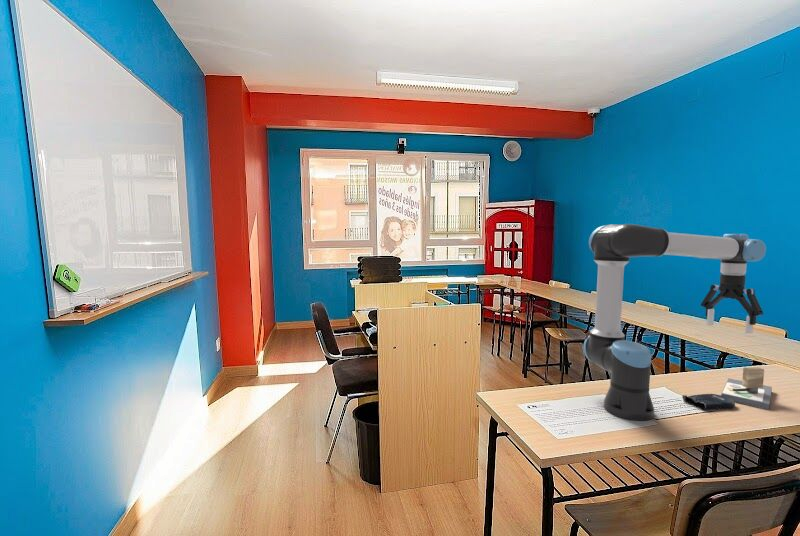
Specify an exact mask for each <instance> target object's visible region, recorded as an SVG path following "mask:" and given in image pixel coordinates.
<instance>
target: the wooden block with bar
mask: <svg viewBox="0 0 800 536" xmlns="http://www.w3.org/2000/svg"><path fill="white" fill-rule="evenodd" d="M742 368H743V369H742V370H743V371H742V380H741V381H742V386H744V387H746V388H741V389H733V391H747V392H749V393H754V394H757V393H758V388H763V385H764V377H765V376H764V375H765V369H764V368H762V367H759V366H755V367H754V366H753V367H742Z"/></svg>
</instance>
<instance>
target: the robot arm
mask: <svg viewBox="0 0 800 536" xmlns="http://www.w3.org/2000/svg"><path fill="white" fill-rule="evenodd" d="M588 246H589V249H590V251H591V252H592V253H593V261H594V263H595V264H597V276H596V277H597V280H596V281H597V282H596V296H595V297H596V299H595V313H594V327H593V328H592V329H590V330H589V335H588V336H587V337H586V338H585V340H584V342H583V345H582V349H583V354H584V356H585V358H586V359H587V360H588V361H589V362H590V363H592V364H593V365H595V366H597V367H599V368H601V369H602V370H605V371H606V372H608V373H609V374H610V385H609V388H608V390H607V392H606V394H605V397H604V400H603V408H604V409H605V410H606V411H607V412H609V414H611V415H614V416H617V417H618V418H619V417H620V418H623V419H627V420H631V421H649V420H653V418H654V417H655V408H654V404H653V401H652V398H651V395H650V382H651V381H650V380H651V365H652V357H651V356H652V355H651V350H650V349H649V348H648V347H647V346H645V345H644V344H642V343H639V342H634V341H631V340H627V339H625V337H626V334H624V332H622V330H621V322H622V309H623V308H622V305H623V291H624V273H625V266H626V265H627V264H629V263H630V258H638V257H653V258H654V257H655V258H656V257H657V258H658V257H662V256H663V255H666V256H667V255H668V256H678V257H693V258H695V259H701V260H702V259H703V260H707V259H708V260H710V259H711V260H720V269H719V270H720V273H721V274H720V275H719V285H718V284H711V285H710V288H709V291H708V292H707V294H706V295H705V297H704V299H703V300H702V302H701V303H700V306H701V307H703V308H705V317H706V318H707V319H706V326H714V323H715V322H714V321H715V309H714V307H715V306H717V304H719V302H721V301H722V300H723V299H732V300H737V302H738V303H739V304H740V305H741V306H742V308H744V310H745V311H746V313H747V315H746V317H745V318H746V320H745V334H753V331H754V325H756V324H757V317H758V316H762V315H764V311H763V310H762V307H761V305H760V303H759V301H758V298H757V297H756V291H755V289H754V288H745V285H746V281H747V279H746V273H747V264H748V263H747V262H758V261H761V260H762V259H764V257H765V255H766V251H767V247H766V244H765V242H763V240H761V239H754V238H749V235H748V234H746V233H724V234H723V236H713V235H705V234H704V235H703V234H702V235H701V234H692V233H691V234H690V233H680V232H679V233H678V232H669V231H667V230H665V229H664V228H657V227H651V226H645V225H640V224H634V223H624V224H622V223H621V224H619V223H618V224H612V223H611V224H606V225H601V226H599V227H597V228H595V230H593V231H592V233H591V234H590V236H589V239H588ZM718 291H719V293H718V294H717V292H718ZM744 294H745V295H746V296H745V295H744ZM715 295H716V296H715ZM714 296H715V297H714ZM746 297H747V298H746ZM747 299H748V300H747Z"/></svg>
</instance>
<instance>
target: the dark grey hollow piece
mask: <svg viewBox="0 0 800 536" xmlns="http://www.w3.org/2000/svg"><path fill="white" fill-rule="evenodd" d="M681 397H682V401H683V402H684V403H687V402H688V403H687V404H689V403H690V402H691V403H694V404H695V403H696V404H697V403H699V404H704V408H703V409H704V410H703V411H706V410H718V409H723V410H725V409H733V408H735V406H736V402H734V401H733V400H732V399H730V398H728V397H725V396H721V394H716V393H705V394H704V393H703V394H694V395H690V396H688V395H686V394H684V395H682V396H681ZM691 403H690V404H691ZM695 408H698V407H697V406H696V407H695Z"/></svg>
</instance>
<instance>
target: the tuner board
mask: <svg viewBox="0 0 800 536" xmlns="http://www.w3.org/2000/svg"><path fill="white" fill-rule="evenodd" d="M741 388H746V387H744V386H742V380H739V379H734V378H729V377H728V378H727V381H726V382H725V385H724V387H723V389H722V392H721V393H720V395H721V396H725V397H728V398H730V399H732V400H733V401H734V403H738V404H743V405H746V406H752V407H756V408H760V409H765V410H770V405H771V397H772V390H773V389H772V388H773V386H770V385H764V384H763V388H758V393H757V394H754V393H749V392H747V391H733V389H741Z"/></svg>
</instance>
